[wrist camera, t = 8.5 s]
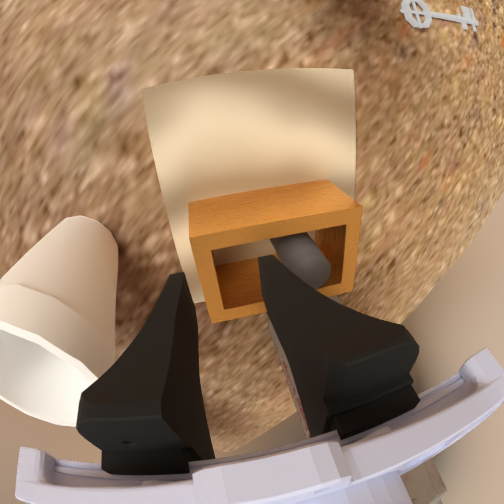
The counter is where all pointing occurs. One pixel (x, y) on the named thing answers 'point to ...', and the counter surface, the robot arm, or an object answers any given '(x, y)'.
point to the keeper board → (252, 151)
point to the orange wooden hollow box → (266, 227)
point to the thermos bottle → (415, 481)
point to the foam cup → (58, 320)
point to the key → (435, 15)
